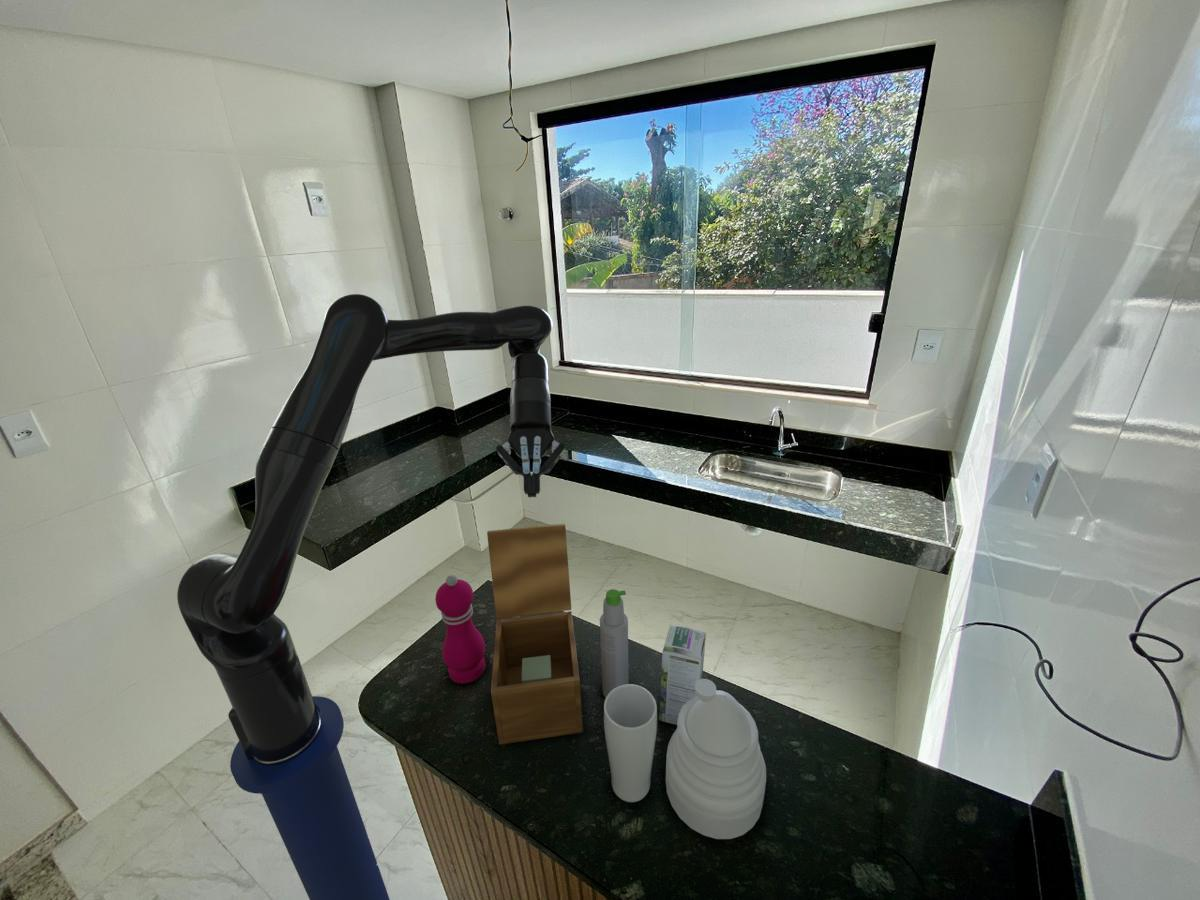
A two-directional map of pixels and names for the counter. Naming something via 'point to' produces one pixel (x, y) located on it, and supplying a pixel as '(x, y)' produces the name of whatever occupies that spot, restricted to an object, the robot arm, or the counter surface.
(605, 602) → the bottle
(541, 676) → the block
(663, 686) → the syrup box
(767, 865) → the counter surface
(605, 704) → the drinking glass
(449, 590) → the pepper mill
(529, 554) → the cover
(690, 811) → the honey pot
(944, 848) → the counter surface
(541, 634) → the keepsake box
